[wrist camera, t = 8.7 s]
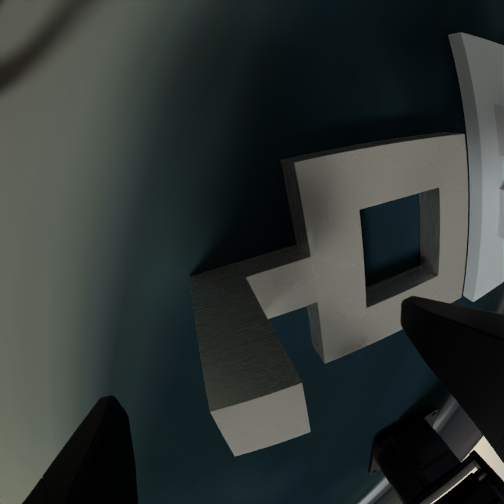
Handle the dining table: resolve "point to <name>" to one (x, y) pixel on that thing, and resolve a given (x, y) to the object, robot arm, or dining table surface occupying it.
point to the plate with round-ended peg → (483, 157)
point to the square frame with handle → (326, 278)
